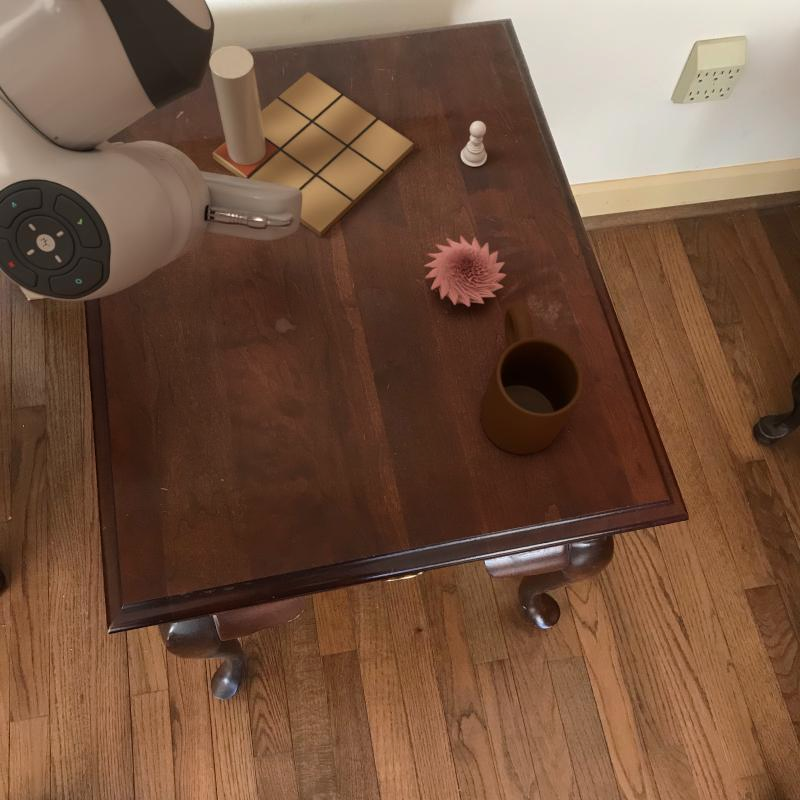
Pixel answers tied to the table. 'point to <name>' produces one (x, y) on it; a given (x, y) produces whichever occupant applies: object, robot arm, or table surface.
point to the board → (322, 151)
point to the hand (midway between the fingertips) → (201, 183)
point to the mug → (529, 388)
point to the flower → (465, 272)
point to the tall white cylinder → (238, 104)
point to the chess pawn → (475, 146)
